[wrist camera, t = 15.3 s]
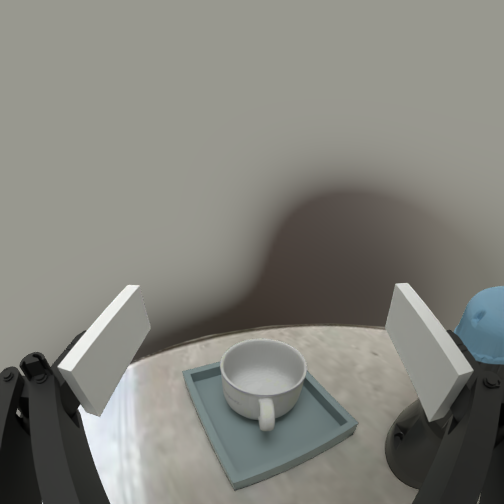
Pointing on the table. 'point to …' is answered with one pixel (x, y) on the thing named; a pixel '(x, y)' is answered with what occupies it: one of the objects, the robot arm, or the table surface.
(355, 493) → the table surface
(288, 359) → the teacup
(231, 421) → the tray
